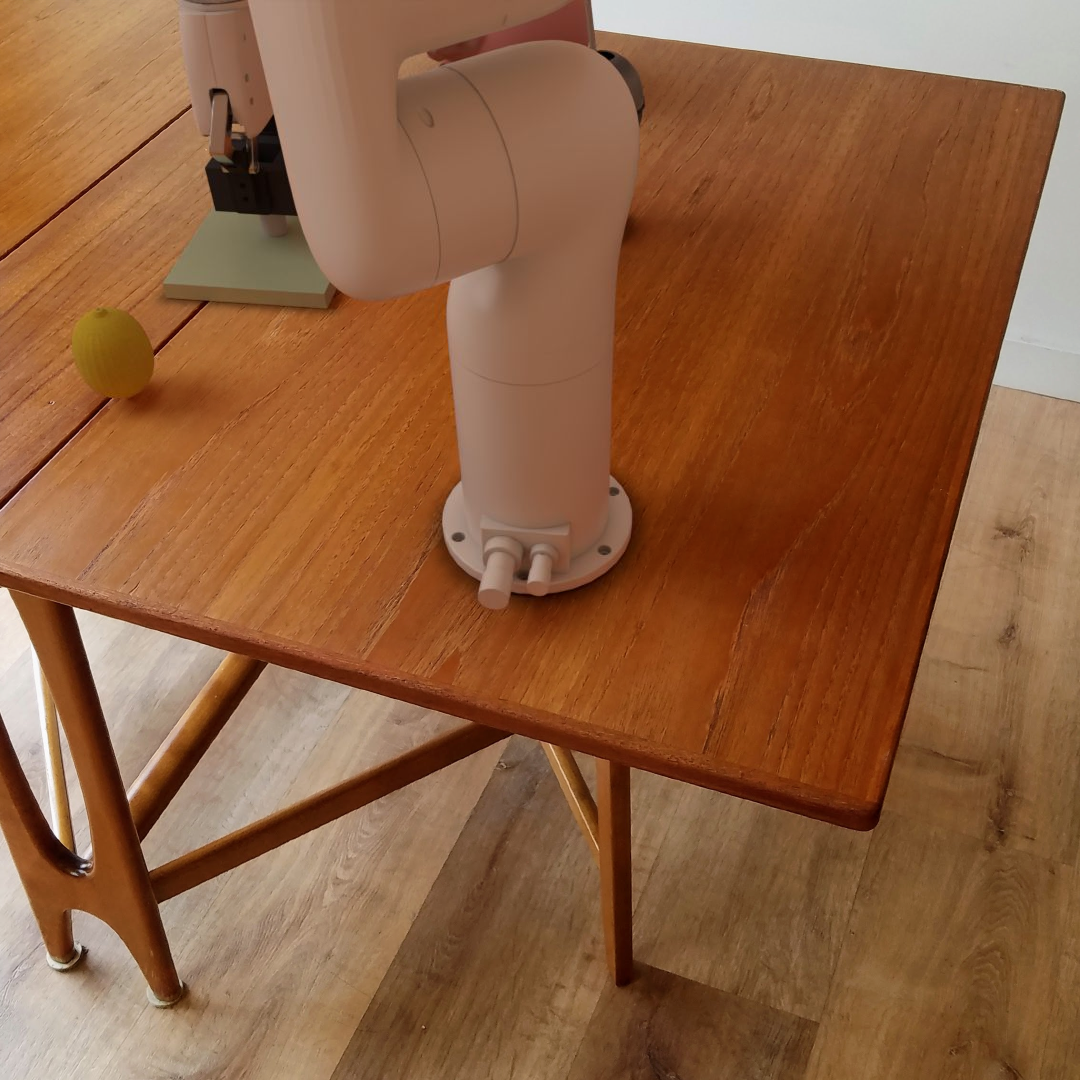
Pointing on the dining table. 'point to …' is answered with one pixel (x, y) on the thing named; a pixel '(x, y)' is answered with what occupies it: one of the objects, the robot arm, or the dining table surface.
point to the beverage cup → (618, 65)
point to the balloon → (524, 34)
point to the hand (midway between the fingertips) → (266, 190)
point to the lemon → (112, 352)
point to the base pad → (249, 263)
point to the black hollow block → (275, 176)
